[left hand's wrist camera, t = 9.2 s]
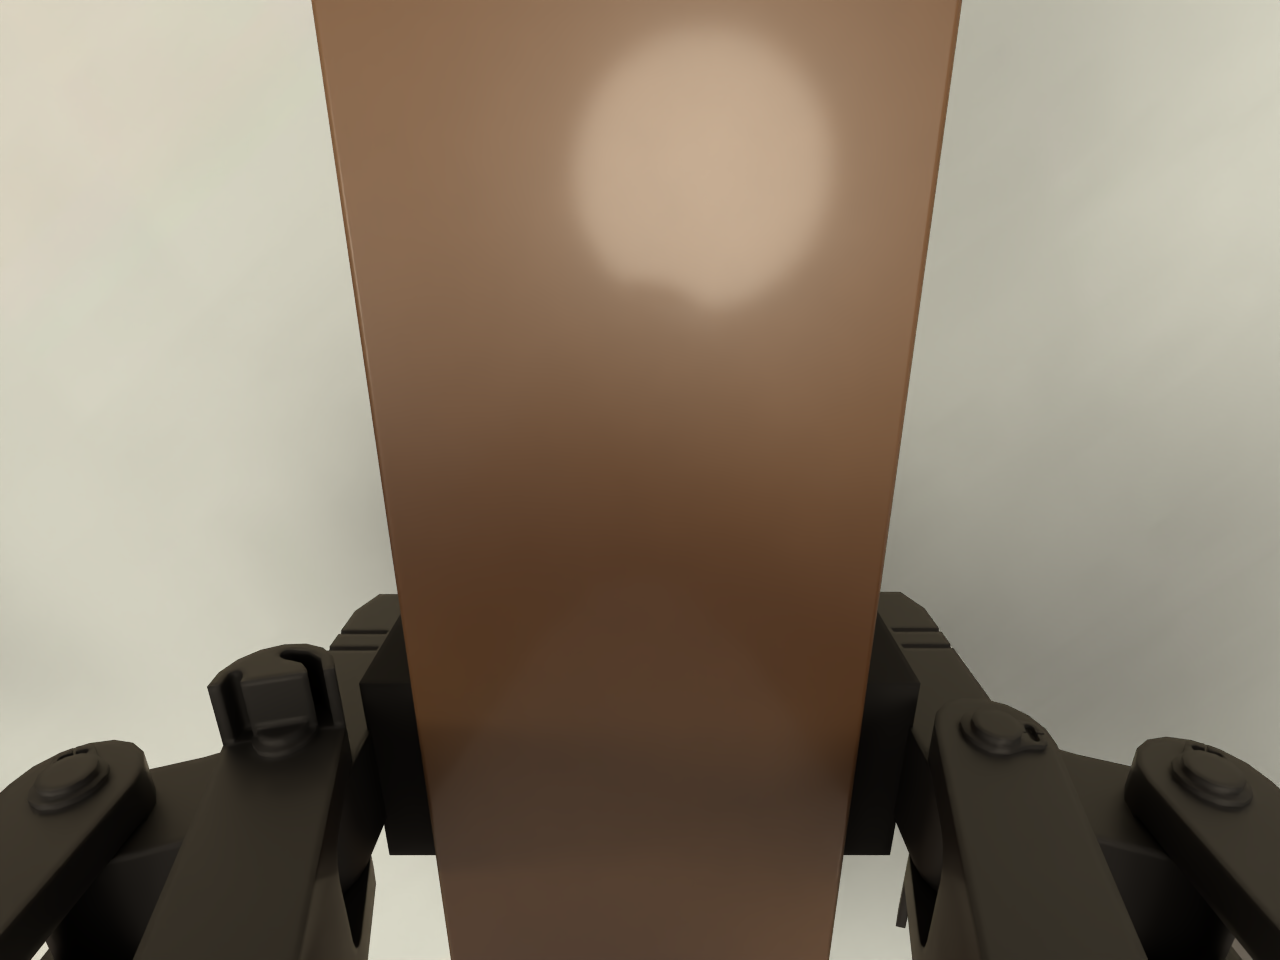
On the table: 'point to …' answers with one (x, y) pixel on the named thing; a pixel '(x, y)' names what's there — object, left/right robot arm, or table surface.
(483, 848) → the bar
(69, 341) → the table surface
